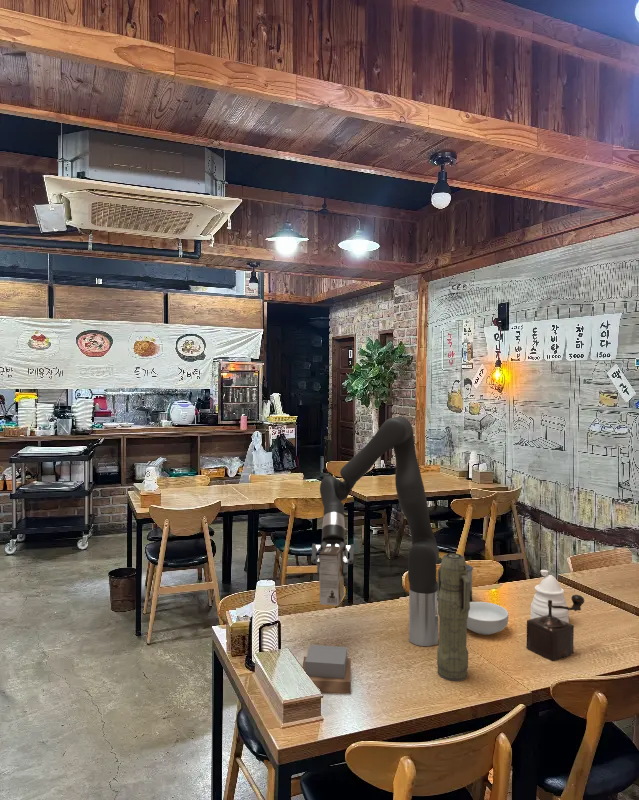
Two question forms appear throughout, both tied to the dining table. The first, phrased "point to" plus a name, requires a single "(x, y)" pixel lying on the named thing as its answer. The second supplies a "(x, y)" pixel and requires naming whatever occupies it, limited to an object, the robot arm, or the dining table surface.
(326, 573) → the coffee box
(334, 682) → the walnut base block
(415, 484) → the robot arm
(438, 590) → the thermos
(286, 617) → the dining table surface
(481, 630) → the cereal bowl
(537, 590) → the honey pot
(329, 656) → the grey square block
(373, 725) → the dining table surface
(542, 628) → the manual coffee grinder
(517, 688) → the dining table surface
